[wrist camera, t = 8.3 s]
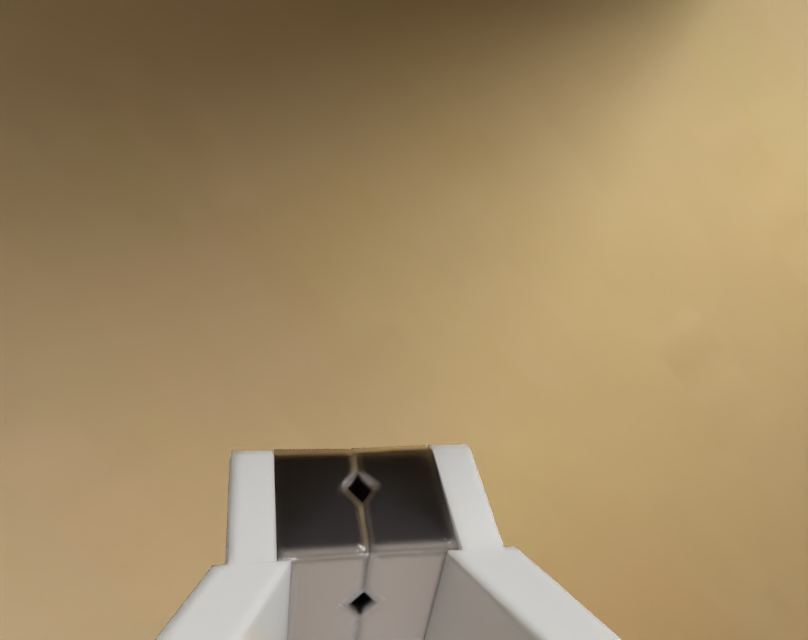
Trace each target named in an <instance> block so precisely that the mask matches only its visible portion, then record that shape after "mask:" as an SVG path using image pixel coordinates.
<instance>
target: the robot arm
mask: <svg viewBox="0 0 808 640" xmlns="http://www.w3.org/2000/svg"><path fill="white" fill-rule="evenodd" d="M155 640H622V639H621V638H620V637H618V636H617V635H616V634H615V633H614V632H613V631H612V630H610V629H609V628H608V627H607V626H606V625H605V624H604V623H602V622H601V621H600V620H599V619H598V618H597V617H596V616H594V615H593V614H592V613H591V612H590V611H589V610H588V609H586V608H585V607H584V606H583V605H582V604H581V603H580V602H578V601H577V600H576V599H575V598H574V597H573V596H572V595H570V594H569V593H568V592H567V591H566V590H565V589H564V588H562V587H561V586H560V585H559V584H558V583H557V582H556V581H554V580H553V579H552V578H551V577H550V576H549V575H547V574H546V573H545V572H544V571H543V570H542V569H541V568H539V567H538V566H537V565H536V564H535V563H534V562H533V561H531V560H530V559H529V558H528V557H527V556H526V555H525V554H523V553H522V552H521V551H520V550H519V549H518V548H517V547H504V545H503V542H502V539H501V536H500V533H499V530H498V528H497V525H496V522H495V519H494V516H493V513H492V510H491V507H490V504H489V501H488V498H487V495H486V492H485V489H484V486H483V484H482V481H481V478H480V475H479V472H478V469H477V466H476V463H475V460H474V457H473V454H472V451H471V449H470V448H469V447H468V446H467V445H466V444H449V445H429V446H425V445H421V446H397V447H372V448H351V449H275V450H274V454H273V450H236V451H232V453H231V457H230V466H229V489H228V512H227V536H226V559H225V564H224V565H213V566H211V568H210V569H209V570H208V572H207V573H206V574H205V575H204V577H203V578H202V579H201V581H200V582H199V583H198V584H197V586H196V587H195V588H194V590H193V591H192V592H191V594H190V595H189V596H188V597H187V599H186V600H185V601H184V603H183V604H182V605H181V606H180V608H179V609H178V610H177V612H176V613H175V614H174V616H173V617H172V618H171V619H170V621H169V622H168V623H167V625H166V626H165V627H164V628H163V630H162V631H161V632H160V634H159V635H158V636H157V638H156V639H155Z"/></svg>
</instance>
